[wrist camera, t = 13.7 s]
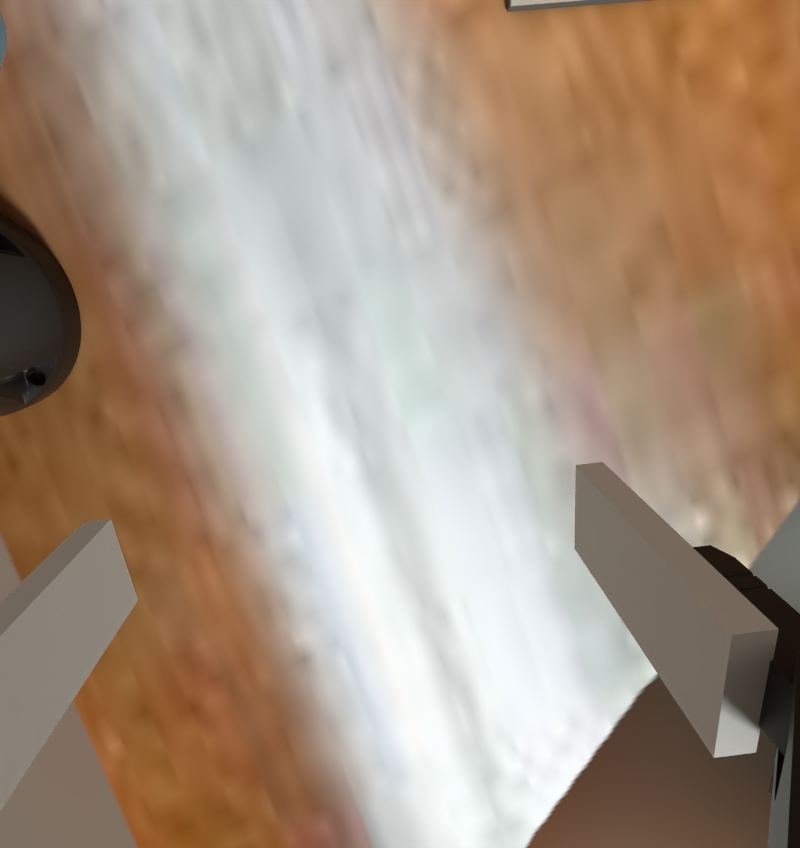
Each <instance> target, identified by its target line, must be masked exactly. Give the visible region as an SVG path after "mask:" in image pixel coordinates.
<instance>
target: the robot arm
mask: <svg viewBox="0 0 800 848" xmlns="http://www.w3.org/2000/svg"><path fill="white" fill-rule="evenodd" d="M6 48H7V32H6V26H5V22H4V19H3V16H2V14H1V12H0V69H1V66H2V62H3V59H4V56H5V52H6ZM80 341H81V323H80V316H79V310H78V306H77V302H76V299H75V296H74V293H73V291H72V288H71V286H70V284H69V282H68V280H67V278H66V276H65V275H64V273H63V271H62V270H61V268H60V266H59V265H58V263H57V262H56V261H55V259H54V258H53V257H52V256H51V254H50V253H49V252H48V251H47V250H46V249H45V248H44V246H43V245H42V244H41V243H40V242H39V241H38V240H36V239H35V238H34V237H33V236H32V235H31V234H30V233H28V232H27V231H26V230H25V229H23V228H22V227H21V226H19V225H18V224H16V223H15V222H13V221H12V220H10V219H8V218H6V217H5V216H3V215H1V214H0V416H4V415H8V414H11V413H14V412H17V411H20V410H22V409H24V408H26V407H28V406H31V405H33V404H35V403H37V402H39V401H41V400H43V399H45V398H46V397H48V396H49V395H51V394H52V393H53V392H54V391H56V390H57V389H58V388H59V387H60V386H61V385H62V384H63V382H64V381H65V380H66V379H67V377H68V376H69V374H70V372H71V371H72V369H73V367H74V364H75V362H76V359H77V356H78V352H79V348H80ZM575 550H576V551H577V553H578V554H579V556H580V557H581V559H582V560H583V562H584V563H585V565H586V566H587V568H588V569H589V571H590V572H591V574H592V575H593V577H594V578H595V580H596V581H597V583H598V584H599V586H600V587H601V589H602V590H603V592H604V593H605V595H606V596H607V598H608V599H609V601H610V602H611V604H612V605H613V607H614V608H615V610H616V611H617V613H618V614H619V616H620V617H621V619H622V620H623V622H624V623H625V625H626V626H627V628H628V629H629V631H630V632H631V634H632V635H633V637H634V638H635V640H636V641H637V643H638V644H639V646H640V647H641V649H642V650H643V652H644V653H645V655H646V657H647V658H648V660H649V661H650V663H651V664H652V666H653V667H654V669H655V670H656V672H657V673H658V675H659V676H660V678H661V679H662V681H663V682H664V684H665V685H666V687H667V688H668V690H669V691H670V692H671V694H672V696H673V697H674V699H675V700H676V702H677V703H678V704H679V706H680V707H681V709H682V710H683V712H684V713H685V715H686V717H687V718H688V720H689V721H690V723H691V724H692V725H693V727H694V729H695V730H696V732H697V733H698V735H699V736H700V738H701V739H702V741H703V742H704V744H705V745H706V747H707V748H708V750H709V751H710V752H711V754H712V756H713V757H714V758H715V757H723V756H731V755H739V754H747V753H755V752H756V749H757V744H758V738H759V733H760V728H762V729H763V730H764V732H765V733H766V734H767V735H768V737H769V738H770V739H771V740H772V742H773V743H774V744H775V745H776V747H777V753H776V758H775V763H774V768H773V773H772V778H771V783H770V787H769V792H771V793H772V802H771V814H770V826H769V838H768V848H800V614H799V613H798V612H797V611H796V610H795V609H793V608H792V607H791V606H790V605H789V604H788V603H787V602H785V601H784V600H783V599H782V598H781V597H780V596H778V595H777V594H776V593H775V592H774V591H773V590H772V589H768V588H767V585H766V584H765V583H763V582H762V581H761V580H760V579H759V578H757V577H756V576H753V574H752V572H751V571H750V570H748V569H747V568H746V567H745V566H744V565H743V564H742V563H740V562H739V561H738V560H737V559H736V558H735V557H733V556H731V555H729V554H727V553H725V552H723V551H721V550H719V549H717V548H715V547H713V546H711V545H709V546H701V547H692V546H691V545H690V544H689V543H688V542H686V541H685V540H684V539H683V538H682V537H681V536H680V535H679V534H678V533H677V532H676V531H675V530H674V529H673V528H672V527H671V526H670V525H669V524H668V523H666V522H665V521H664V520H663V519H662V518H661V517H660V516H659V515H658V514H657V513H656V512H655V511H654V510H653V509H652V508H651V507H650V506H649V505H647V504H646V503H645V502H644V501H643V500H642V499H641V498H640V497H639V496H638V495H637V494H636V493H635V492H634V491H633V490H632V489H631V488H630V487H628V486H627V485H626V484H625V483H624V482H623V481H622V480H621V479H620V478H619V477H618V476H617V475H616V474H615V473H614V472H613V471H612V470H611V469H610V468H608V467H607V466H606V465H605V464H604V463H603V462H599V463H590V464H581V465H576V493H575ZM137 601H138V599H137V596H136V593H135V590H134V587H133V584H132V581H131V578H130V575H129V572H128V569H127V566H126V563H125V560H124V557H123V554H122V551H121V548H120V546H119V543H118V540H117V537H116V534H115V531H114V528H113V525H112V522H111V519H108V520H100V521H91V522H83V523H82V524H81V525H80V526H79V527H78V528H77V529H76V530H75V531H74V532H73V533H72V534H71V535H70V536H69V537H68V538H67V539H66V540H65V541H63V542H62V543H61V544H60V545H59V546H58V547H57V548H56V549H55V550H54V551H53V552H52V553H51V554H50V555H49V556H48V557H47V558H46V559H45V560H44V561H43V562H42V563H41V564H40V565H39V566H38V567H37V568H36V569H35V570H34V571H33V572H32V573H31V574H29V575H28V576H27V577H26V578H25V579H24V580H23V581H22V582H21V583H20V584H19V585H18V586H17V587H16V588H15V589H14V590H13V591H12V592H11V593H10V594H9V595H8V596H7V597H6V598H5V599H4V600H3V601H2V602H1V603H0V811H1V809H2V808H3V806H4V804H5V803H6V801H7V800H8V798H9V797H10V795H11V794H12V792H13V791H14V789H15V787H16V786H17V785H18V783H19V782H20V780H21V779H22V777H23V775H24V774H25V772H26V771H27V769H28V768H29V766H30V765H31V763H32V762H33V760H34V759H35V757H36V756H37V754H38V752H39V751H40V749H41V748H42V746H43V745H44V743H45V742H46V740H47V739H48V737H49V736H50V734H51V733H52V731H53V730H54V728H55V726H56V725H57V723H58V722H59V720H60V719H61V717H62V716H63V714H64V713H65V711H66V709H67V708H68V706H69V705H70V703H71V702H72V700H73V699H74V697H75V696H76V694H77V693H78V691H79V690H80V688H81V687H82V685H83V684H84V682H85V681H86V679H87V677H88V676H89V674H90V673H91V671H92V670H93V668H94V667H95V665H96V664H97V662H98V661H99V659H100V658H101V656H102V654H103V653H104V651H105V650H106V648H107V647H108V645H109V644H110V642H111V641H112V639H113V638H114V636H115V635H116V633H117V631H118V630H119V628H120V627H121V625H122V624H123V622H124V621H125V619H126V618H127V616H128V615H129V613H130V612H131V610H132V609H133V607H134V605H135V604H136V602H137Z"/></svg>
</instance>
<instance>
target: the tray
mask: <svg viewBox="0 0 800 848" xmlns="http://www.w3.org/2000/svg"><path fill="white" fill-rule="evenodd" d="M634 1H647V0H507V12H510V11H522V10H535V9H547V8H560V7H572V6H585V5H597V4H609V3H622V2H634Z"/></svg>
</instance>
